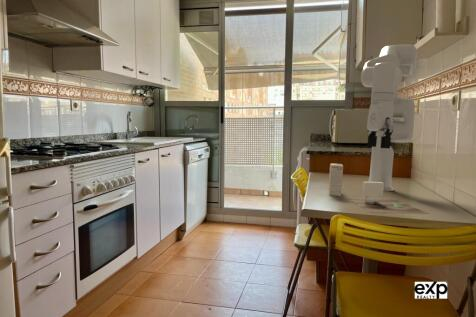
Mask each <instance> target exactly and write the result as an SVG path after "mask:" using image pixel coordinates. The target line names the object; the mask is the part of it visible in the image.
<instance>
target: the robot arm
mask: <svg viewBox="0 0 476 317" xmlns="http://www.w3.org/2000/svg"><path fill="white" fill-rule="evenodd" d="M417 64H418V50H417V48H416V46H415V45H413V44H411V43H410V44H406V43H405V44H391V45H386V46H384V47H383V48H382V49H381V50H380V52H379V55H378V56H377V57H374V58H372V59H370V60H368V61H366V62H365V63H364V65H363V68H362V71H361V73H360V82H361V85H362V86H363V87H366V88H371V95H370V105H369V109H368V115H367V122H366V129H367V147H371V156H370V170H369V178H368V181H367V182H383V183H384V190H383V192H393V191H394V190H395V187H394V186H392V177H393V166H394V164H393V163H394V156H395V155H394V152H395V151H394V148H393V147H392V146H391V143H404V144H405V143H410V142H411V141H412V140H413V137H414V127H415V126H414V124H415V116H416V115H415V113H416V103H415V101H414V100H413V98H411V97H399V86H400V84H401V83H402V81H403V77H412V76H413V75H414V74H415V73H416V70H417ZM395 119H396V120H395ZM397 119H399V120H397ZM401 120H402V121H401Z"/></svg>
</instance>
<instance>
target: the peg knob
mask: <svg viewBox="0 0 476 317" xmlns="http://www.w3.org/2000/svg"><path fill="white" fill-rule="evenodd" d="M383 190H384V183H383V182H369V181H362V187H361V196H362V197H365V201H364V202H365V203H368V204H376V205H378V206H380V207H382V208H386V206H384V205H382V204H380V203H379V199H380V198H384V191H383Z"/></svg>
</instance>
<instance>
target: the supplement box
mask: <svg viewBox="0 0 476 317" xmlns="http://www.w3.org/2000/svg"><path fill="white" fill-rule="evenodd" d="M343 171H344V165H343V164H342V163H333V162H332V163H330V164H329V174H328V176H329V178H328V191H327V192H328V196H339V197H342V185H343V173H344V172H343Z"/></svg>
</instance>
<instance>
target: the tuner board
mask: <svg viewBox="0 0 476 317" xmlns="http://www.w3.org/2000/svg"><path fill="white" fill-rule="evenodd" d="M343 198H344V199H346V200H348V201H350V202H351V203H353V204H354V205H357V206H359V207H360V208H362V209H363V210H365V211H367V212H369V213H372V214H373V213H374V214H375V213H378V214H379V213H380V214H415V215H416V214H420V215H423V214H424V215H428V214H430V213H429V212H427V211H425V210H422V209H420V208H417V207H414V206H412V205H409V204H408V203H405V202H402V201H400V200H398V199H395V198H394V197H380V199H379V203H380V204H382V205H384V206H386V208H382V207H380V206H378V205H376V204H368V203H365V202H364V201H365V196H343Z"/></svg>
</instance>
